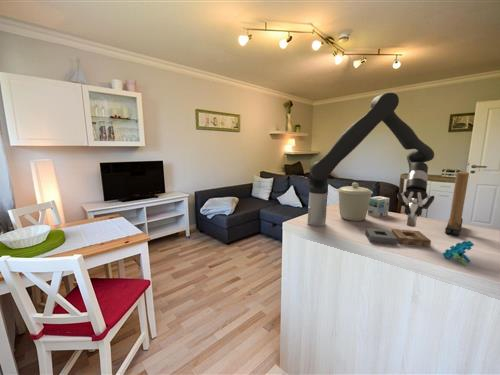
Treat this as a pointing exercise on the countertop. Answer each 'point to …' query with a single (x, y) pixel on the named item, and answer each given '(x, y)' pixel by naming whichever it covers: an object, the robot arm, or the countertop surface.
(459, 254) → the blue pixel flower
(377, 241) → the socket block
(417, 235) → the rack block
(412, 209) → the steel pin
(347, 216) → the canister
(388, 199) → the light bulb box
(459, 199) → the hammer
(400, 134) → the robot arm
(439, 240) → the countertop surface
